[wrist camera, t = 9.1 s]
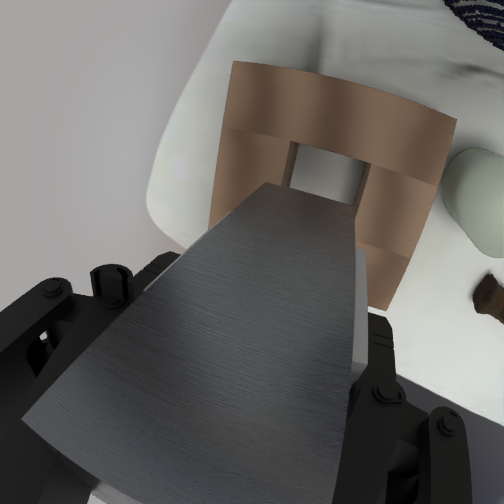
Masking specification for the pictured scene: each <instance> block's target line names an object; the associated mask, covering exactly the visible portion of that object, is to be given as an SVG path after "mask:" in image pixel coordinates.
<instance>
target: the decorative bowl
mask: <svg viewBox="0 0 504 504" xmlns="http://www.w3.org/2000/svg"><path fill="white" fill-rule="evenodd" d="M443 1H445V5H446V6H448V7H450V9H451V10H453V13H455V16H457V17H460V20H462V21H464V22H465V24H466V25H467V27H468V28H470V29H473V30H475V31H477V28H479V27H480V28H483V27H485V28H489V29H491V28H492V29H496V30H500V31H502V32H504V27H502V26H501V25H500V23H499V22H501V23H502V22H503V23H504V19H503V18H504V9H502V10H499V9H498V8H493V7H491V6H489V7H488V6H483V5H481V6H480V5H475V4H474V5H473V6H472V5H469V6H467V5H465V6H464V7H463V6H460V7H458V6H457V7H456V8H455V6H452V5H450V4H454V3H455V2H456V3H458V2H459V1H460V0H443ZM463 1H464V0H463ZM466 1H468V0H466ZM474 1H476V0H474ZM486 1H488V2H490V3H491V2H493V3H495V2H496V3H498V4H500V5H502V6H504V0H486ZM475 9H476V10H479V12H480V13H485V14H486V13H488V14H492V15H494V16H496V15H497V16H501V17H503V18H498V17H497V18H496V17H494V16H492V15H491V16H489V15H487V16H484V15H482V14H480V15H479V14H476V15H470V16H469V15H466V16H465V17H463V15H464V14H465V13H466V10H467V13H472V14H473V13H474V12H476V11H475ZM469 18H470V19H473V18H475V19H476V20H475V23H474V21H473V20H471V21H470V23H469V22H468V19H469ZM478 18H481V19H482V18H483V19H488V20H489V19H490V20H495V21H496V20H497V21H499V22H498V23H497V25H495V24H494V25H493V24H489V23H484V22H483V21H482V20H478ZM477 34H479V35H481V36H483V37H484V39H485V40H487V41H489V42H491V43H493V46H495V47H497V48H499V49H501V50H503V51H504V46H502V45H500V44H504V33H500V32H496V31H494V30H491V31H489V30H487V31H485V30H483V31H481V32H480V31H477ZM499 43H500V44H499Z"/></svg>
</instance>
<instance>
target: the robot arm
mask: <svg viewBox="0 0 504 504" xmlns="http://www.w3.org/2000/svg"><path fill="white" fill-rule="evenodd" d="M230 212H231V211H230ZM230 212H228V213H227V214H226V215H225V216H224V217H223V218H225V217H226V216H227V215H228V214H229V213H230ZM223 218H222V219H223ZM222 219H220V220H219V221H218V222H217V223H216V224H215V225H214V226H216V225H217V224H218V223H219V222H220V221H221V220H222ZM214 226H213V227H214ZM213 227H211V228H210V229H209V230H208V231H207V232H206V233H205V234H204V235H206V234H207V233H208V232H209V231H210V230H211V229H212V228H213ZM204 235H202V236H201V237H200V238H199V239H198V240H197V241H196V242H195V243H194V244H193V245H195V244H196V243H197V242H198V241H199V240H200V239H201V238H202V237H203V236H204ZM193 245H191V246H190V247H189V248H188V249H187V250H186V251H185V252H184V253H183V254H182V255H180V254H177V253H174V252H171V251H169V252H167V253H164V254H161V255H159V256H157V257H156V258H155V259H154V260H153V261H151V262H150V264H148V265H147V266H146V267H144V268H143V270H141V271H139V272H138V273H137V274H136V275H135V276H134V277H133V274H132V271H130V270H129V269H128V268H127V267H125V266H122V265H118V264H107V265H102V266H99V267H96V268H95V269H93V270H92V271H91V272H90V276H91V283H92V289H93V297H92V296H86V295H80V294H75V293H73V290H72V286H71V283H70V282H69V281H68V280H67V279H64V278H55V277H53V278H49V279H46V280H44V281H42V282H40V283H39V284H37V285H36V286H35V287H33V288H32V289H30V290H29V291H28V292H26V293H25V294H24V295H22V296H21V297H20V298H18V299H17V300H16V301H14V302H13V303H12V304H11V305H9V306H8V307H6V308H5V309H4V310H2V311H1V312H0V504H87V502H88V499H89V496H90V493H91V491H90V490H89V489H88V488H87V487H86V486H85V485H84V484H83V483H82V482H81V481H80V480H79V479H78V478H76V477H75V476H74V475H73V474H72V473H71V472H70V471H69V470H68V469H67V468H66V467H65V465H64V464H63V463H62V462H61V461H60V460H59V459H58V458H57V457H56V456H55V455H53V454H52V453H51V452H50V451H48V450H47V449H46V448H45V447H44V446H43V445H42V444H41V443H40V442H39V440H38V439H37V438H36V437H35V436H34V435H33V433H32V432H31V431H30V430H29V429H28V427H27V426H26V425H25V423H24V422H23V421H22V420H21V418H22V417H23V416H24V415H25V414H26V413H27V412H28V411H29V410H30V408H31V407H32V406H33V405H34V404H35V403H36V402H37V401H38V400H39V399H40V397H41V396H42V395H43V394H44V393H45V392H46V391H47V390H48V389H49V388H50V387H51V386H52V384H53V383H54V382H55V381H56V380H57V379H58V378H59V377H60V376H61V375H62V374H63V373H64V372H65V371H66V370H67V369H68V367H69V366H70V365H71V364H72V363H73V362H74V361H75V360H76V359H77V358H78V357H79V356H80V355H81V354H82V353H83V352H84V351H85V350H86V349H87V348H88V347H89V346H90V345H91V344H92V343H93V342H94V341H95V340H96V339H97V338H98V337H99V336H100V335H101V334H102V333H103V332H104V331H105V330H106V329H107V328H108V327H109V326H110V325H111V324H112V323H113V322H114V321H115V320H116V319H117V318H118V317H119V316H120V315H121V314H122V313H123V312H124V311H125V310H126V309H127V308H128V307H129V306H130V305H131V304H132V303H133V302H134V301H135V300H136V299H137V298H138V297H139V296H140V295H141V294H142V293H143V292H144V291H145V290H146V289H148V288H149V287H150V286H151V285H152V284H153V283H154V282H155V281H156V280H157V279H158V278H159V277H160V276H161V275H162V274H163V273H164V272H165V271H167V270H168V269H169V268H170V267H171V266H172V265H173V264H174V263H175V262H176V261H177V260H178V259H179V258H180V257H182V256H183V255H184V254H185V253H186V252H187V251H188V250H189V249H190V248H191V247H192V246H193ZM355 251H356V283H355V320H354V340H353V355H352V368H351V379H350V390H349V399H348V408H347V416H346V424H345V431H344V438H343V445H342V451H341V457H340V463H339V469H338V474H337V479H336V485H335V490H334V494H333V499H332V504H376V503H377V504H472V486H471V471H470V461H469V452H468V444H467V437H466V430H465V425H464V422H463V420H462V418H461V417H460V415H459V414H458V413H457V412H456V411H454V410H453V409H451V408H448V407H437V408H435V409H434V410H432V411H431V412H430V413H427V412H425V411H423V410H421V409H419V408H417V407H415V406H413V405H412V404H410V403H408V402H407V401H406V394H405V392H404V390H403V388H402V387H401V386H400V384H399V383H398V382H397V381H396V370H395V355H394V350H393V348H394V343H393V332H392V327H391V325H390V324H389V322H388V320H387V318H386V317H383V316H379V315H376V314H373V313H369V312H368V305H367V279H366V261H365V250H362V249H358V248H355ZM43 332H46V334H47V338H46V339H44V340H41V339H40V337H39V336H40V335H41V334H42V333H43Z"/></svg>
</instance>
